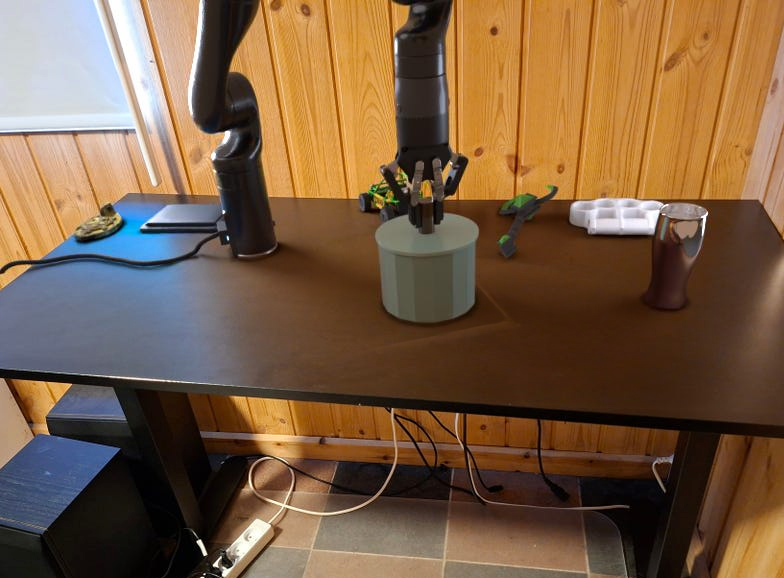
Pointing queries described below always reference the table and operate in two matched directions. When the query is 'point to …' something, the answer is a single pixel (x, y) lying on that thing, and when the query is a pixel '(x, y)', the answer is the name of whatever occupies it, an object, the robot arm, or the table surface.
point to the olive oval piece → (100, 224)
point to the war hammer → (521, 216)
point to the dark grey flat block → (185, 218)
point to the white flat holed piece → (616, 216)
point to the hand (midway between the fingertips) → (426, 224)
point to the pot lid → (427, 233)
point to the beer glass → (674, 253)
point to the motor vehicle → (386, 199)
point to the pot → (428, 285)
